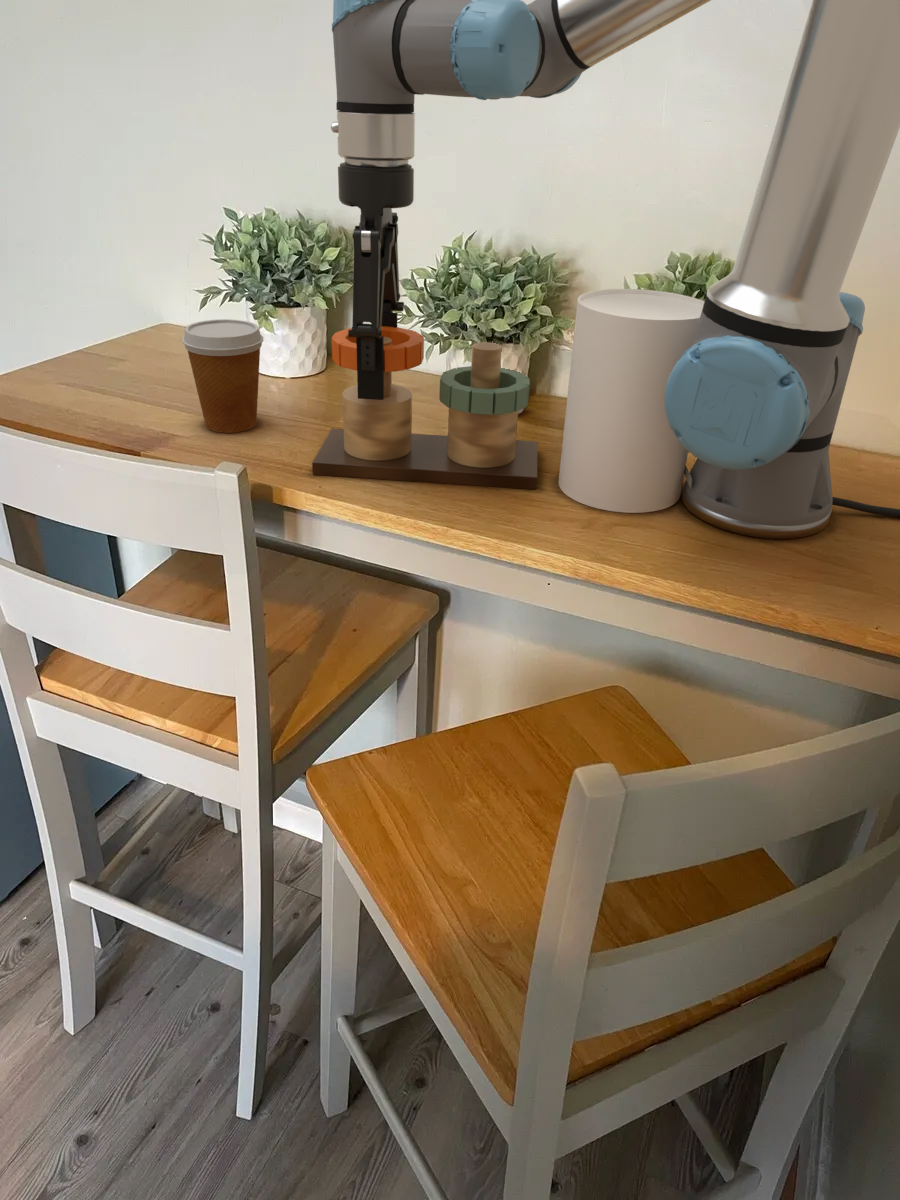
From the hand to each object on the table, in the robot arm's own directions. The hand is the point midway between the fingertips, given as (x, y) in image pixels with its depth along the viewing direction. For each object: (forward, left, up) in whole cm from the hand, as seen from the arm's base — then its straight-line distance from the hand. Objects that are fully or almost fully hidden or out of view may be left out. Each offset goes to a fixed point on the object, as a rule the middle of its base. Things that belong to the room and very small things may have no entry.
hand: (378, 383), depth 100 cm
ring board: (-6, 0, -9) cm, 11 cm away
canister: (-28, +3, -9) cm, 29 cm away
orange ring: (0, 0, +3) cm, 3 cm away
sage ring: (-12, 0, -1) cm, 12 cm away
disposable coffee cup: (+20, -9, -9) cm, 24 cm away
